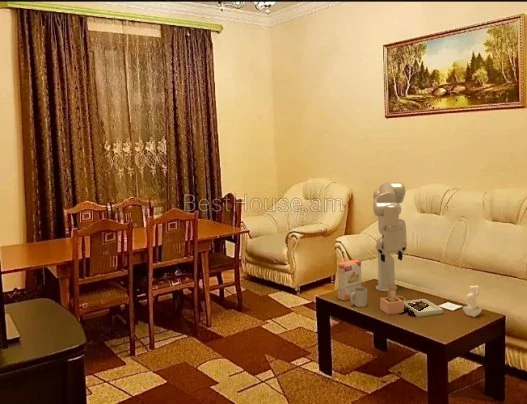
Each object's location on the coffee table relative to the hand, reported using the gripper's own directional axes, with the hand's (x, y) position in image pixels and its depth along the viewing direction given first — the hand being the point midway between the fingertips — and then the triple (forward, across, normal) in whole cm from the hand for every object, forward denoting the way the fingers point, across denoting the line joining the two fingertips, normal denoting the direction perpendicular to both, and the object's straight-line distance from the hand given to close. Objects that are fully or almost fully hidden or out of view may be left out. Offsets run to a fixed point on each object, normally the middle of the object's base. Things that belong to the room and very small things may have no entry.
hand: (391, 260), depth 267 cm
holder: (+27, 0, 0) cm, 27 cm away
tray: (+27, +15, -4) cm, 31 cm away
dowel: (+27, 0, 0) cm, 27 cm away
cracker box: (+27, -12, +28) cm, 41 cm away
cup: (+27, -13, +14) cm, 33 cm away
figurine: (+27, +35, -19) cm, 48 cm away
